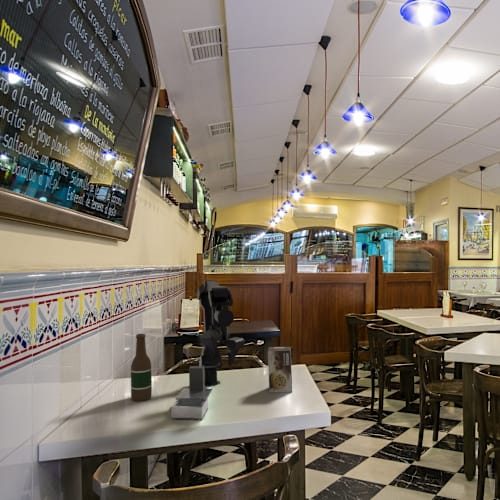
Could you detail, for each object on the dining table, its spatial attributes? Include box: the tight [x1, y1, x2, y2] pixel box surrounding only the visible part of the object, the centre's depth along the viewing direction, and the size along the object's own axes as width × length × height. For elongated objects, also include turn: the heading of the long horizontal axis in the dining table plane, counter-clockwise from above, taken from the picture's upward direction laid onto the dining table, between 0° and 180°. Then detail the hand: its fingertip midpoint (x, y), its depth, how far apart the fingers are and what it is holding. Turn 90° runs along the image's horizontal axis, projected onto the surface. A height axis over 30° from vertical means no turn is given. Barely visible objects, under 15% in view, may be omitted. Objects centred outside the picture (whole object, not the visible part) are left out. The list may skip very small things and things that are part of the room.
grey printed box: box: [267, 346, 293, 393], centre depth 146 cm, size 9×6×16 cm
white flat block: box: [171, 398, 209, 421], centre depth 124 cm, size 9×10×4 cm
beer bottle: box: [130, 333, 153, 403], centre depth 141 cm, size 8×8×24 cm
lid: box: [175, 365, 213, 401], centre depth 130 cm, size 10×11×9 cm
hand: (220, 364), depth 136 cm, fingers open, 9 cm apart
